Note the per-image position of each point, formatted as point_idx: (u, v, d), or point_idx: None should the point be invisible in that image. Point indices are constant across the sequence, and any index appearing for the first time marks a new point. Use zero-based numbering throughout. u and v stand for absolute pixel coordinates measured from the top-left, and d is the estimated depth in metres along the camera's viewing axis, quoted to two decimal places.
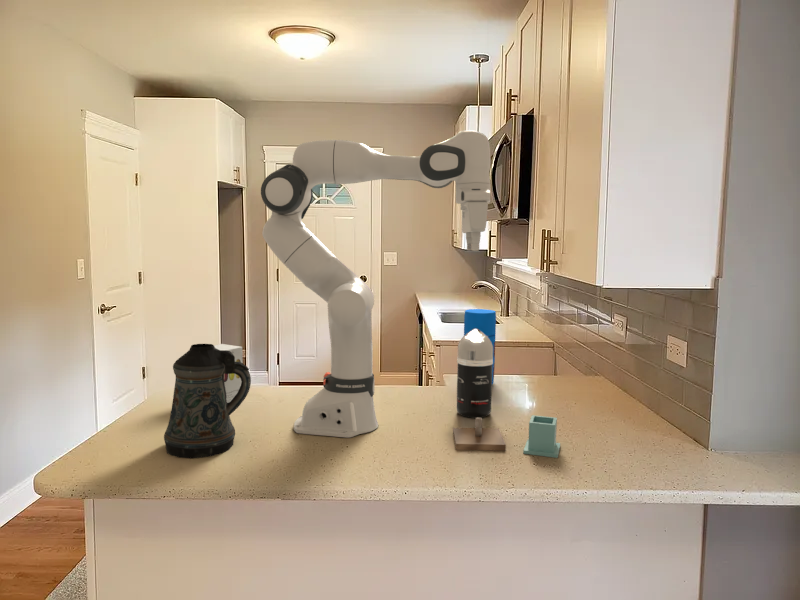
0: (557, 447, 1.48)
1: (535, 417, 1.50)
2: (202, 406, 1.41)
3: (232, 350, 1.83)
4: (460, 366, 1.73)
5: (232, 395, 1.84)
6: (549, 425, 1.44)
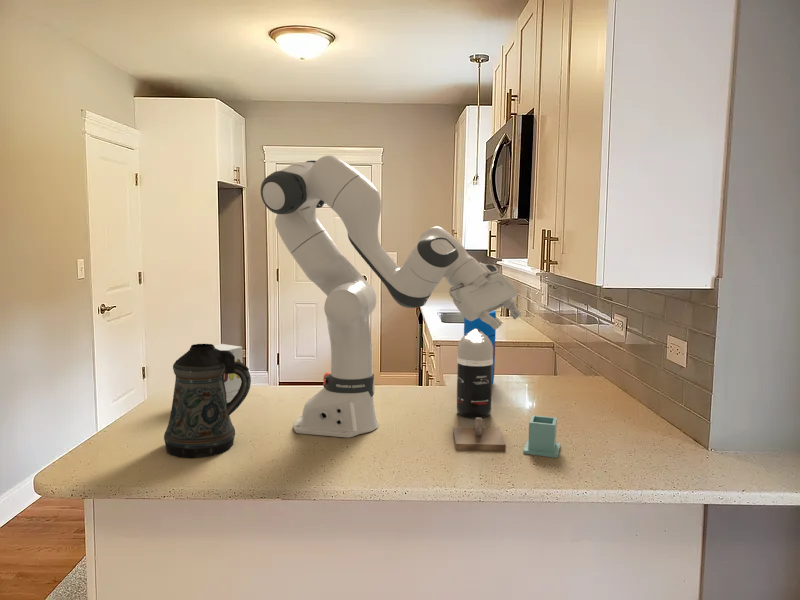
0: (557, 447, 1.48)
1: (535, 417, 1.50)
2: (202, 406, 1.41)
3: (232, 350, 1.83)
4: (460, 366, 1.73)
5: (232, 395, 1.84)
6: (549, 425, 1.44)
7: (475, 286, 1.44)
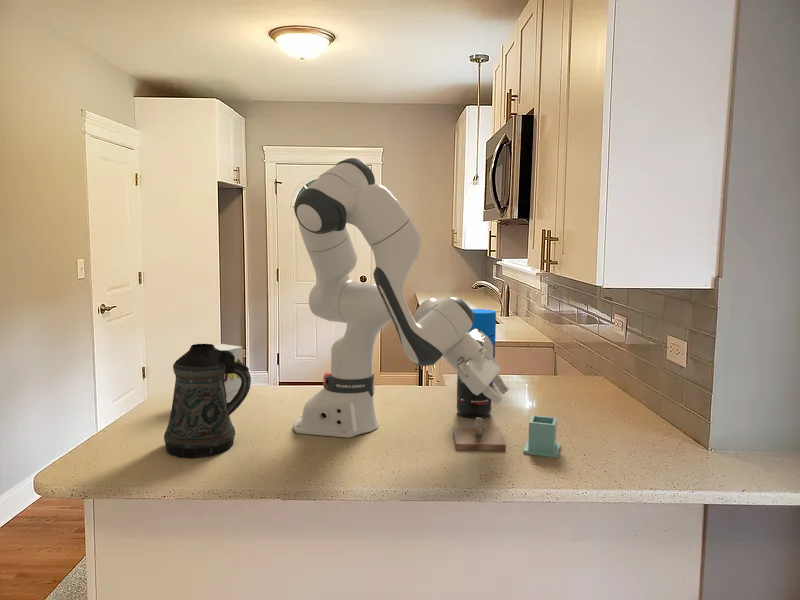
0: (557, 447, 1.48)
1: (535, 417, 1.50)
2: (202, 406, 1.41)
3: (232, 350, 1.83)
4: None
5: (232, 395, 1.84)
6: (549, 425, 1.44)
7: (475, 360, 1.48)
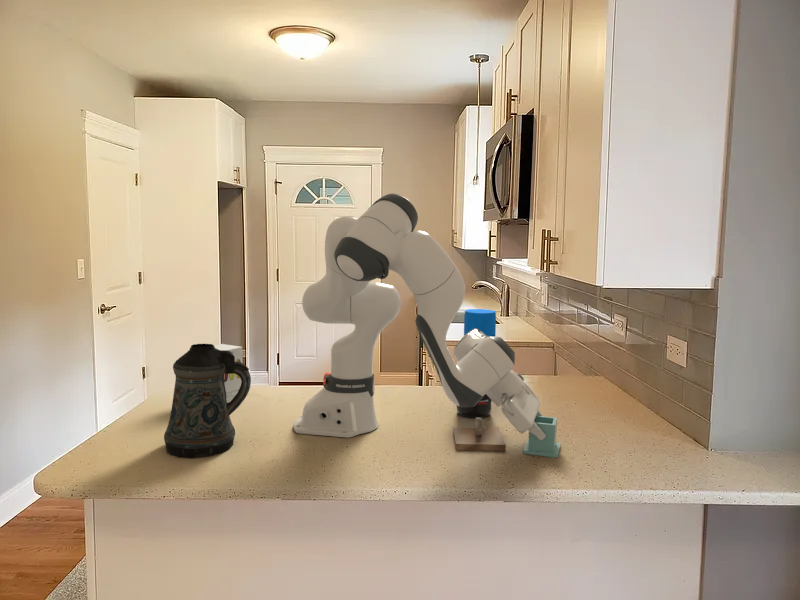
0: (557, 447, 1.48)
1: (535, 417, 1.50)
2: (202, 406, 1.41)
3: (232, 350, 1.83)
4: None
5: (232, 395, 1.84)
6: (549, 425, 1.44)
7: (518, 397, 1.46)
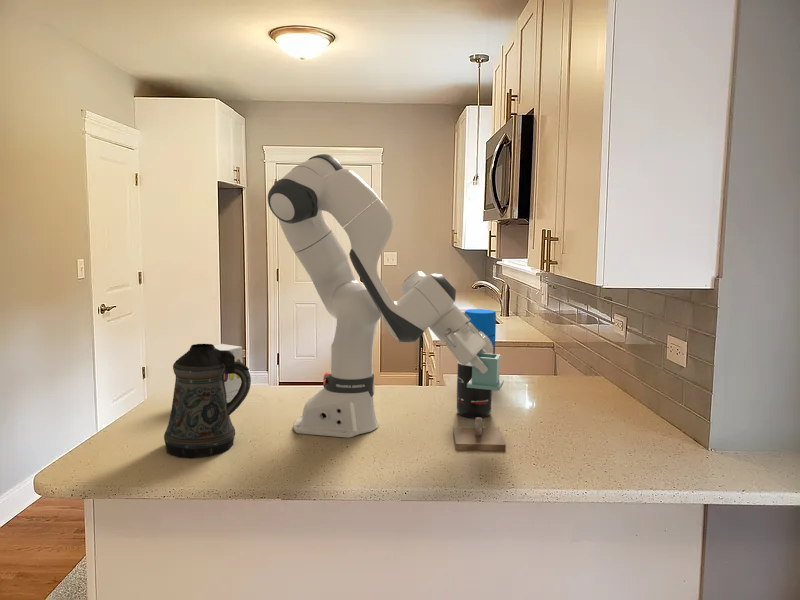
0: (500, 382, 1.52)
1: (479, 354, 1.54)
2: (202, 406, 1.41)
3: (232, 350, 1.83)
4: (460, 366, 1.73)
5: (232, 395, 1.84)
6: (492, 359, 1.48)
7: (462, 332, 1.50)
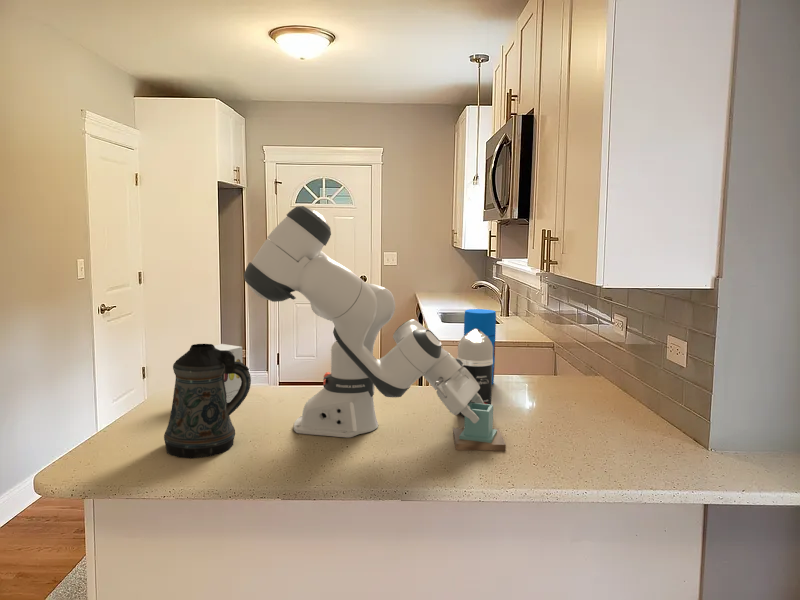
0: (493, 433, 1.53)
1: (472, 404, 1.56)
2: (202, 406, 1.41)
3: (232, 350, 1.83)
4: None
5: (232, 395, 1.84)
6: (483, 411, 1.49)
7: (454, 380, 1.51)
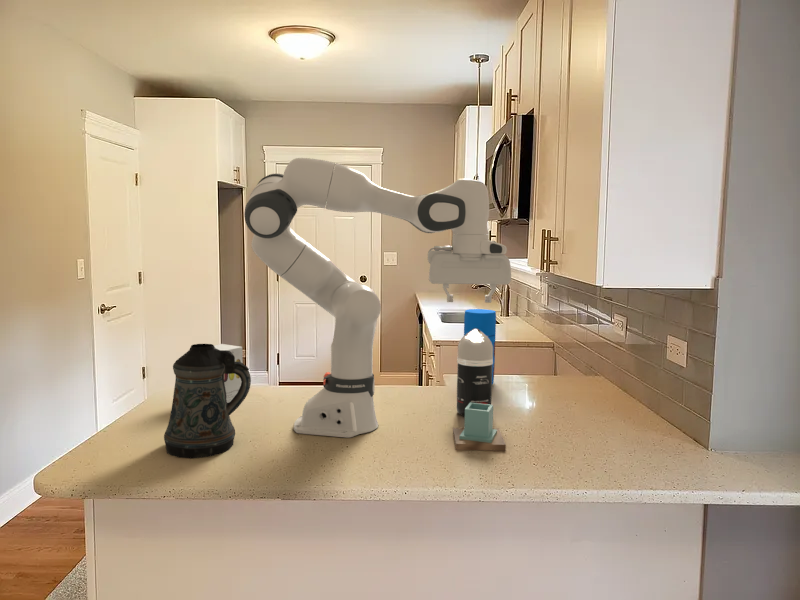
0: (493, 433, 1.53)
1: (472, 404, 1.56)
2: (202, 406, 1.41)
3: (232, 350, 1.83)
4: (460, 366, 1.73)
5: (232, 395, 1.84)
6: (483, 411, 1.49)
7: (458, 258, 1.49)
